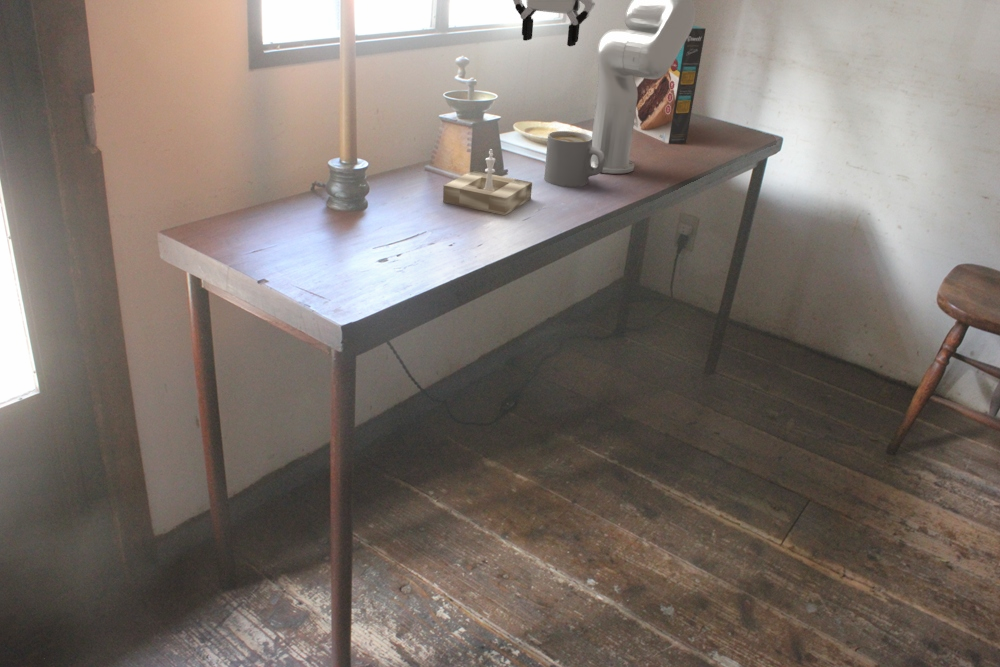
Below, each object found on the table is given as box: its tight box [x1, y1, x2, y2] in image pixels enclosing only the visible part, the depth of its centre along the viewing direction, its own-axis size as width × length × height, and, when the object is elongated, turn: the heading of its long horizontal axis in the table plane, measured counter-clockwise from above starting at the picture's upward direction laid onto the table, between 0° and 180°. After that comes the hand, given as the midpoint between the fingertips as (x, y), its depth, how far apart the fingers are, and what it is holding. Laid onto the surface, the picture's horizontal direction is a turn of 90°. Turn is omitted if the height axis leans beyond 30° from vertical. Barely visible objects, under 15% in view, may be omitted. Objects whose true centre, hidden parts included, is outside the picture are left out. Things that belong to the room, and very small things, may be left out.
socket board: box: [442, 170, 533, 216], centre depth 163 cm, size 13×14×4 cm
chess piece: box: [484, 148, 496, 190], centre depth 162 cm, size 5×5×10 cm
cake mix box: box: [633, 25, 706, 145], centre depth 221 cm, size 22×6×30 cm, turn 25°
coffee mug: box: [543, 130, 605, 188], centre depth 177 cm, size 13×10×10 cm
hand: (549, 42), depth 160 cm, fingers open, 9 cm apart
